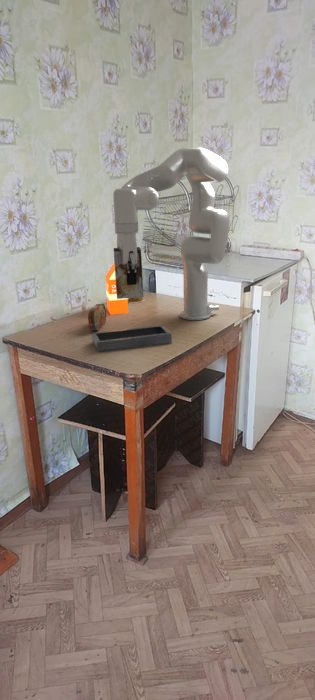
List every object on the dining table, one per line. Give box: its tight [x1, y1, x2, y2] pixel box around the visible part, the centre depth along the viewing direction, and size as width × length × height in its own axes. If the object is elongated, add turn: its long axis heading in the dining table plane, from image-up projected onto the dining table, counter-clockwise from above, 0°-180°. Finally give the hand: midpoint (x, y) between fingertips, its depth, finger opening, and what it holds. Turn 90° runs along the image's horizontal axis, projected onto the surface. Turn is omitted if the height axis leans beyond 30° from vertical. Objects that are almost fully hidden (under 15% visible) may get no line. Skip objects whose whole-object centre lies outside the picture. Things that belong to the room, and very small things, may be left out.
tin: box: [87, 303, 107, 332], centre depth 198 cm, size 15×3×8 cm, turn 168°
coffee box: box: [113, 246, 144, 299], centre depth 173 cm, size 9×6×16 cm
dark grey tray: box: [91, 324, 173, 353], centre depth 181 cm, size 26×10×4 cm, turn 107°
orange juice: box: [105, 262, 129, 315], centre depth 216 cm, size 8×9×20 cm
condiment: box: [128, 297, 147, 304], centre depth 233 cm, size 7×8×12 cm
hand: (129, 281), depth 174 cm, fingers closed on coffee box, 7 cm apart
